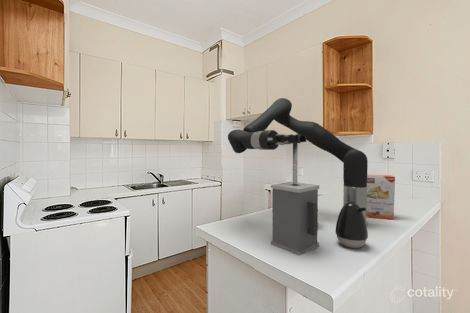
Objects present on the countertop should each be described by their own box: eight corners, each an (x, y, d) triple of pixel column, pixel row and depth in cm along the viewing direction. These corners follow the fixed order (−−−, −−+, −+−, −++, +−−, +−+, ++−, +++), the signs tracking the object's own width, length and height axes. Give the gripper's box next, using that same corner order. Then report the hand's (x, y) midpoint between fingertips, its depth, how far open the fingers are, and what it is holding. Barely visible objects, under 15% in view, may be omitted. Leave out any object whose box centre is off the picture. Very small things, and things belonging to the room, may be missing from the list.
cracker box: (361, 217, 115) (361, 175, 114) (359, 213, 120) (360, 173, 120) (394, 220, 110) (395, 176, 109) (391, 216, 115) (392, 174, 114)
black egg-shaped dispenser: (353, 253, 75) (354, 207, 74) (329, 242, 84) (329, 200, 84) (375, 248, 79) (375, 203, 78) (349, 237, 88) (349, 198, 88)
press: (291, 235, 90) (291, 181, 89) (324, 247, 79) (325, 186, 79) (270, 244, 82) (270, 184, 82) (305, 258, 72) (305, 190, 71)
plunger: (292, 210, 87) (292, 135, 86) (310, 215, 81) (311, 134, 80) (279, 214, 82) (279, 134, 81) (297, 219, 76) (298, 133, 75)
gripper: (251, 129, 87) (289, 126, 74) (276, 131, 96) (313, 128, 83) (251, 149, 87) (289, 149, 74) (276, 149, 96) (313, 149, 83)
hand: (302, 138), depth 78 cm, fingers closed on plunger, 3 cm apart
